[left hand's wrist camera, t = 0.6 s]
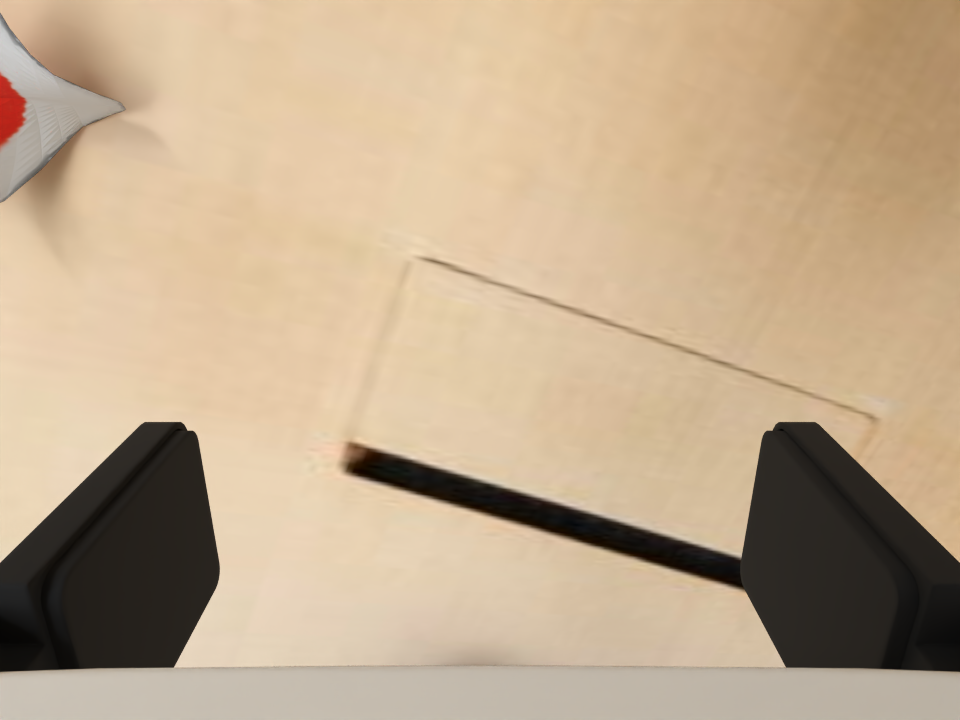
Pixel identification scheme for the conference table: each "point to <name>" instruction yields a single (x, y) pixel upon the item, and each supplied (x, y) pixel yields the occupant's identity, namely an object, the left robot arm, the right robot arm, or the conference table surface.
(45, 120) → the fish
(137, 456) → the left robot arm
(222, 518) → the conference table surface
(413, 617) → the conference table surface
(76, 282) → the conference table surface
